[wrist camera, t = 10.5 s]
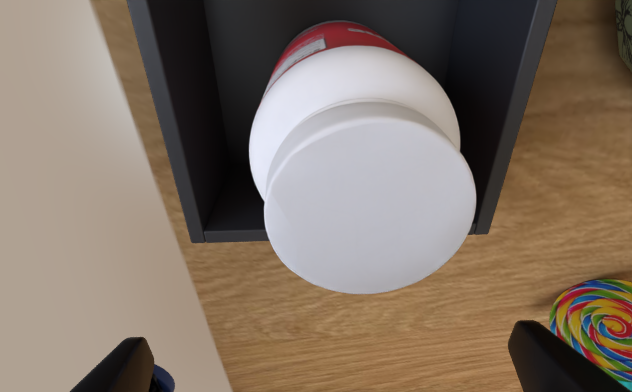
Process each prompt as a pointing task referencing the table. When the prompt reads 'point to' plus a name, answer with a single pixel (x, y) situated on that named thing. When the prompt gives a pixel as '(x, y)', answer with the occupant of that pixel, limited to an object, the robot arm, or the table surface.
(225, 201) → the bin
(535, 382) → the robot arm
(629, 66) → the green rounded hollow pot
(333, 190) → the pill bottle
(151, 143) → the table surface
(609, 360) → the lollipop
